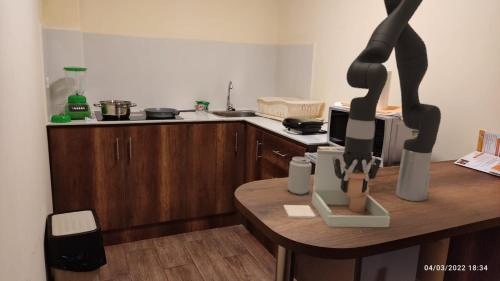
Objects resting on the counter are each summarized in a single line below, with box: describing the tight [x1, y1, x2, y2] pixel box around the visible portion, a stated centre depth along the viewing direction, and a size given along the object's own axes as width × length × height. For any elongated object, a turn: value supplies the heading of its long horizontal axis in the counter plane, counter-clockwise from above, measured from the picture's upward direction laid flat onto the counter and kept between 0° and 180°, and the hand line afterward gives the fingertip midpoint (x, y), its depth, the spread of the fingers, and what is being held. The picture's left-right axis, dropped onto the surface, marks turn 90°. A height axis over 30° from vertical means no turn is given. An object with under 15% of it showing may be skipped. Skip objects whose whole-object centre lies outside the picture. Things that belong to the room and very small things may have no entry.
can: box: [287, 156, 312, 195], centre depth 128 cm, size 8×8×12 cm
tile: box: [283, 204, 317, 219], centre depth 111 cm, size 8×8×1 cm
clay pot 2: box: [348, 186, 370, 213], centre depth 116 cm, size 6×6×9 cm
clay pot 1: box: [345, 170, 366, 198], centre depth 107 cm, size 6×6×9 cm
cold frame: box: [311, 150, 391, 228], centre depth 110 cm, size 18×17×18 cm
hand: (353, 191), depth 107 cm, fingers closed on clay pot 1, 4 cm apart
